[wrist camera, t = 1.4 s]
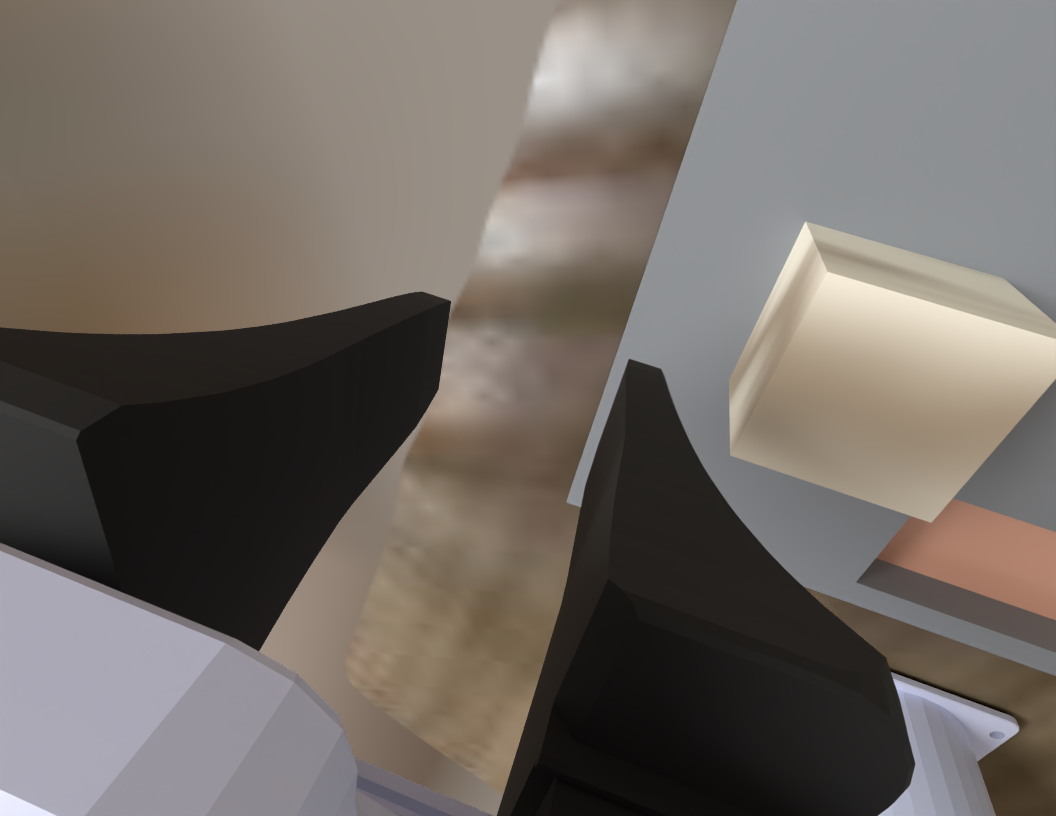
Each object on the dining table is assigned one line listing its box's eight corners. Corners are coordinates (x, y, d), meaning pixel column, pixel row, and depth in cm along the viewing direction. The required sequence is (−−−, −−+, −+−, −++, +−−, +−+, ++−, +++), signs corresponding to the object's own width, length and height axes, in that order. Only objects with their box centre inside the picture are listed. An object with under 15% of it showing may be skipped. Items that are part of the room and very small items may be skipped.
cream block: (892, 432, 18) (931, 522, 14) (728, 380, 18) (730, 455, 15) (1003, 278, 15) (1082, 346, 12) (805, 221, 15) (827, 271, 12)
